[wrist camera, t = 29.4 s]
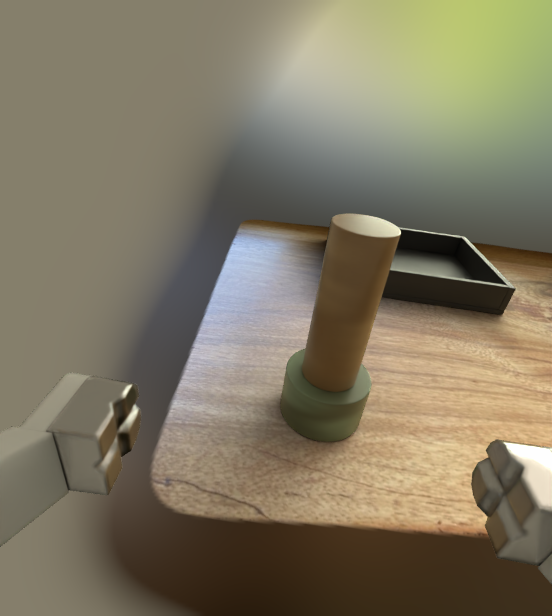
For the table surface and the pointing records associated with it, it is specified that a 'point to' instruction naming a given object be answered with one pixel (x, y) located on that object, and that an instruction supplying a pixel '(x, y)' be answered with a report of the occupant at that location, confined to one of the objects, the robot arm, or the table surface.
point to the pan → (445, 273)
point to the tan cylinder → (340, 330)
